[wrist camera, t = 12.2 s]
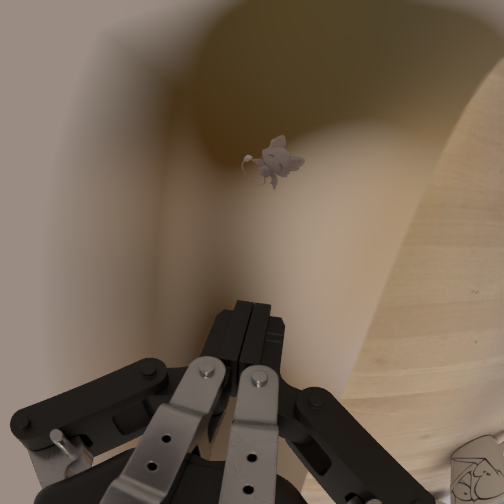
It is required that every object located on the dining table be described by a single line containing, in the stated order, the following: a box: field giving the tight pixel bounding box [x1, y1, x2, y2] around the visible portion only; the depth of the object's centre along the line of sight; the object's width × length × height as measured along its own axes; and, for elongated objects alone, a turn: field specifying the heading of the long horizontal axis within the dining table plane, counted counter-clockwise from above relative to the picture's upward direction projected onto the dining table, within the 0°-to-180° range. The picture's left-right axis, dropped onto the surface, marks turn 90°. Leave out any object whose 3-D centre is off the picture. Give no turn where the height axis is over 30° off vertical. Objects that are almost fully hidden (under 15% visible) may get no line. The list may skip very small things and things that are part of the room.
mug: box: [450, 436, 504, 504], centre depth 18 cm, size 11×8×10 cm
